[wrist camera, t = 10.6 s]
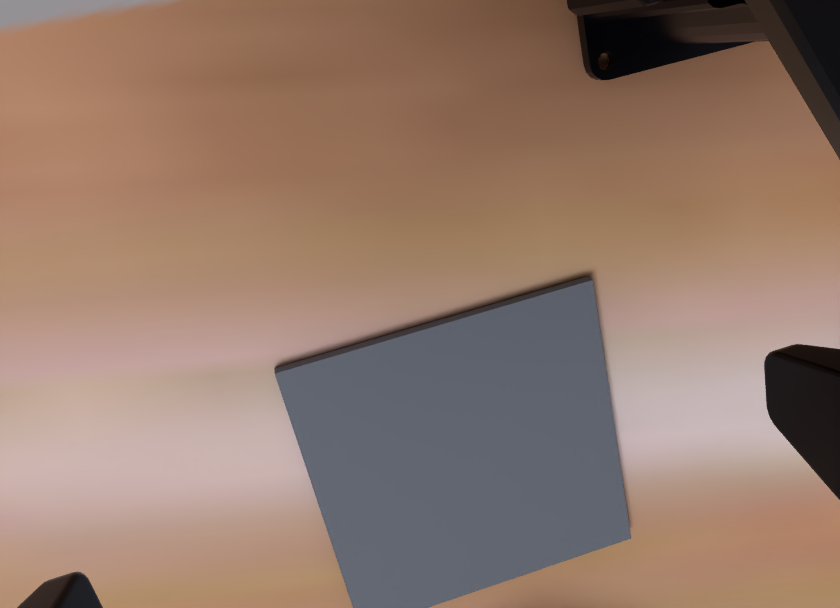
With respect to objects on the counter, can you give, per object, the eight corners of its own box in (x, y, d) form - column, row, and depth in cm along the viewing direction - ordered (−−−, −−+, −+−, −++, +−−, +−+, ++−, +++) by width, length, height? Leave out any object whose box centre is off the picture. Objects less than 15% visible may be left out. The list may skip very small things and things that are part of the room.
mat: (587, 276, 23) (592, 279, 22) (625, 531, 26) (631, 538, 26) (274, 368, 21) (274, 373, 21) (359, 621, 25) (360, 630, 25)
